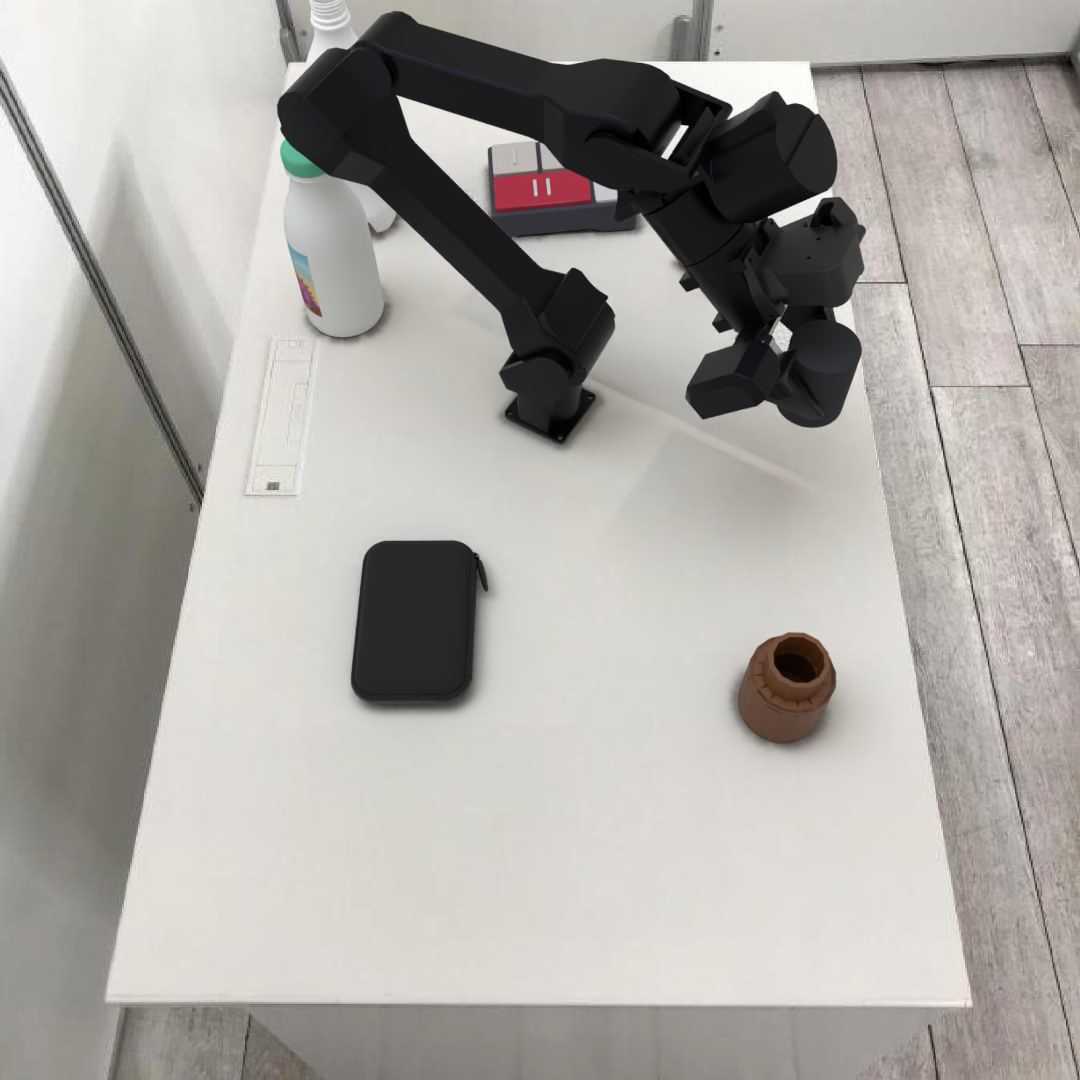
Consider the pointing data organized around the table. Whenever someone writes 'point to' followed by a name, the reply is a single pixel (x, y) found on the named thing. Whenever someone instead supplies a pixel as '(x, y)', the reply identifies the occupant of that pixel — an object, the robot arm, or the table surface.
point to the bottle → (786, 687)
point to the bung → (824, 367)
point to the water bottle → (337, 32)
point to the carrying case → (416, 622)
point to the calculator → (545, 193)
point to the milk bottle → (330, 249)
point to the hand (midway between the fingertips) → (830, 392)
